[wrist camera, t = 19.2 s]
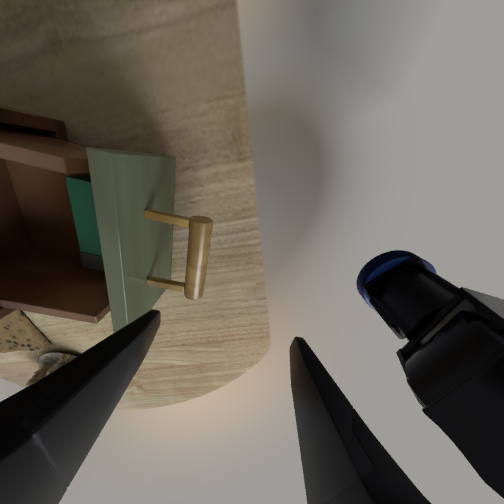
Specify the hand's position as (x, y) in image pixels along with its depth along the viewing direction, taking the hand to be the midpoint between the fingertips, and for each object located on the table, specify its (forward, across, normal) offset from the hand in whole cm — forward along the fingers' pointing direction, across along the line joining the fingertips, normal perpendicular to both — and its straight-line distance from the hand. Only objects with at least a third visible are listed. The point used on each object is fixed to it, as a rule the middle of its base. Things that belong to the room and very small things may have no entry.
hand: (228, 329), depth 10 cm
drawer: (+11, +12, 0) cm, 17 cm away
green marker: (+10, +13, 0) cm, 16 cm away
